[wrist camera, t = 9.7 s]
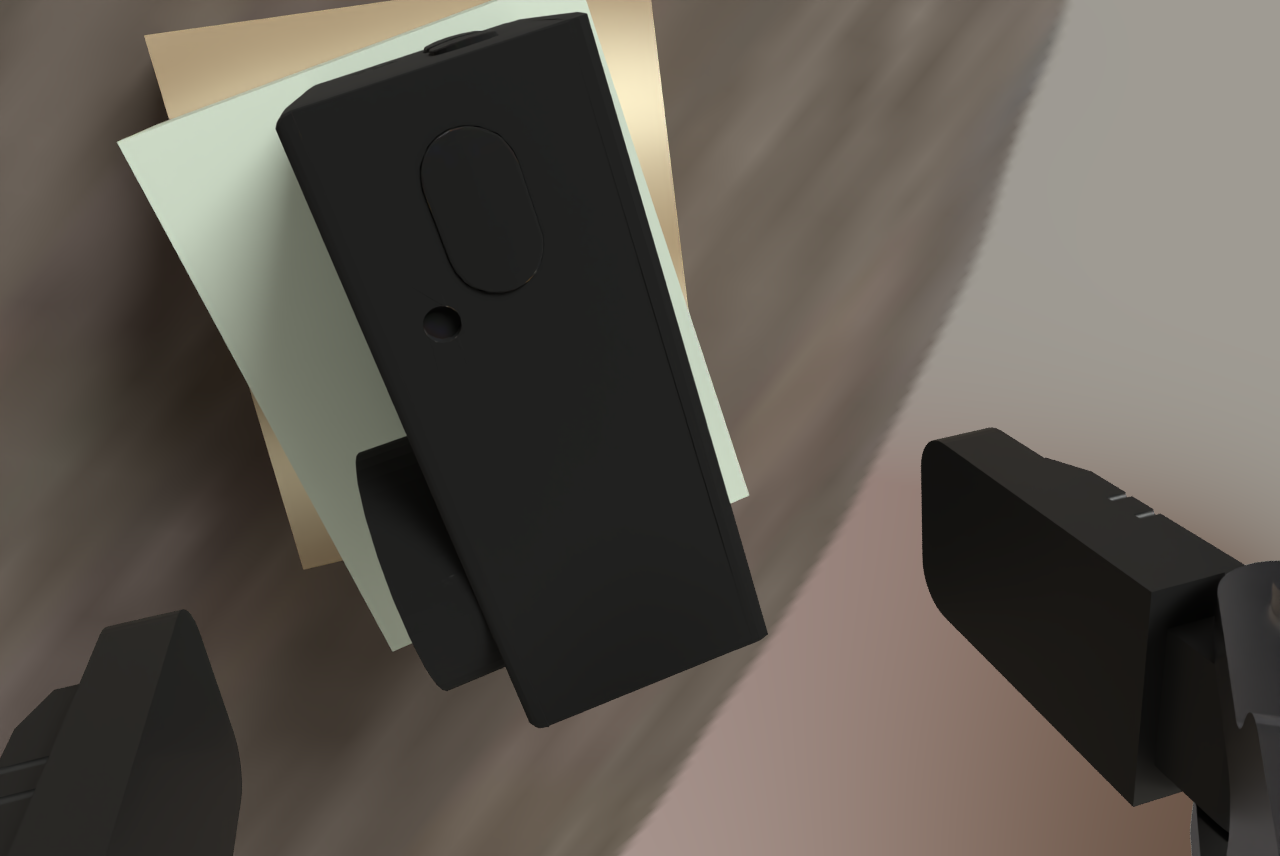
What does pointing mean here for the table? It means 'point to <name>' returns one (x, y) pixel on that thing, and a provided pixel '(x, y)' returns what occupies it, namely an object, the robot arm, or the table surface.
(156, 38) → the block bottom
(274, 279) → the block top
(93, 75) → the table surface
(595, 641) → the digital camera
